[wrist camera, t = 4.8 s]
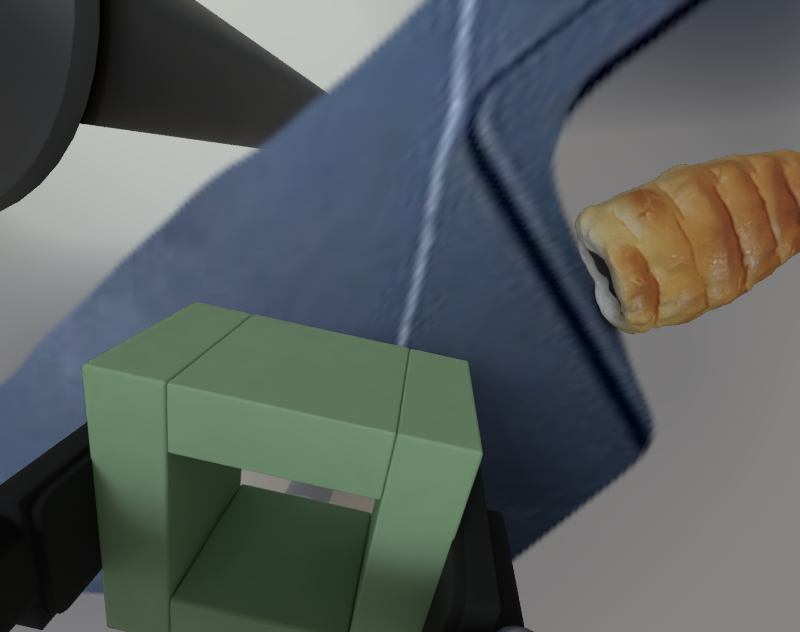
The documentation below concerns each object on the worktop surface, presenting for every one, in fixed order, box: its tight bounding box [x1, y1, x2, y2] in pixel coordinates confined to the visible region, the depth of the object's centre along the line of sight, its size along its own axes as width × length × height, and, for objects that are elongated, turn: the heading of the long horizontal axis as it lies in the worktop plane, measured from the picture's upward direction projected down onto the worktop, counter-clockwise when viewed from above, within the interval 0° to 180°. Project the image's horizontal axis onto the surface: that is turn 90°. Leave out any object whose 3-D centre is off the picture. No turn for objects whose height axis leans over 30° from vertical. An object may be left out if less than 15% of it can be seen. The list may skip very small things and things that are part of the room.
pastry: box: [575, 149, 800, 334], centre depth 17 cm, size 9×7×4 cm
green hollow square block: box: [82, 302, 483, 632], centre depth 10 cm, size 7×7×4 cm
